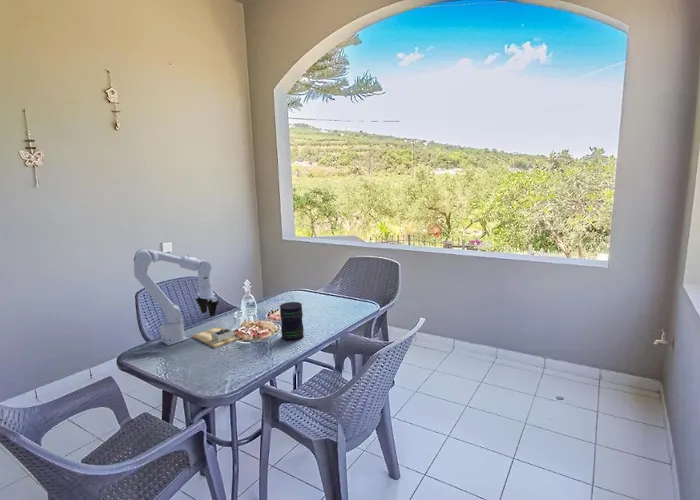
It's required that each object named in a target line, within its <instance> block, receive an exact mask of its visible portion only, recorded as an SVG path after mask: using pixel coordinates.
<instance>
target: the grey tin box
mask: <svg viewBox="0 0 700 500" xmlns="http://www.w3.org/2000/svg"><path fill="white" fill-rule="evenodd" d="M234 333H235V331H234V330H233V329H231V328H228V327H227V328H224V333H223V334H221V332H220V331H217V332H214V333H211V335H212V340H214V341H216V342H218V343H219V342H222V341H225V340H228V339H231V338H234Z"/></svg>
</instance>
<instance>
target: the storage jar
mask: <svg viewBox="0 0 700 500" xmlns="http://www.w3.org/2000/svg"><path fill="white" fill-rule="evenodd" d="M302 305H303V303H301V302H299V301H298V302H297V301H290V302H284V303H281V304H280V305H279V313H280V314H279V315H280V316H279V317H280V319H281V327H280V328H281V329H280V331H281V339H282V340H283V341H285V342H297V341H300V339H301V340H302V339H304V337H305V336H304V331H305V329H304V324H303V306H302Z"/></svg>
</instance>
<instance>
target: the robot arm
mask: <svg viewBox="0 0 700 500" xmlns="http://www.w3.org/2000/svg"><path fill="white" fill-rule="evenodd" d="M159 261H161V262H168V263H172V264H177V265H179V268H182V269H186V270H190V271H194V272H197V276H198V277H197V279H198V289H199V292H196V296H197V298H196V299H195V302H196V303H197V304H198V306H199V309H200V312H201V313H202V314H204V313H207V311H208V313H209V317H214V316H216V311H217V306H218V304H219V302H220V301H219V300H218V298H217V296H215V295H216V293H215V292H213V290H214V289H213V282H212V281H213V280H212V273H211V271H212V265H211V263H210V261H208V260H206V259H205V258H201V257H193V256H191V255H190V254H186V255H182V256H178V255H174V254H170V253H167V252H163V251H160V250H155V249H150V248H149V249H147V248H143V247H141V248H139V249H138V250H137V251H136V252H135V254H134V257H133V275H134V278H135V279H137V281H138V282H139V283H140V285H141V286H142V287H143V288H144V289H145V290H146V291H147V293H148V294H149V295H150V296H151V297H152V299H153V300H154V301H155V302H156V304H157V305H158V306H159V307H160V309H161V310H162V311H163V313H164V314H165V315H166V320H165V322H164V323H163V324H161V325H160V327H159V331H160V338H161V340H160V342H161V343H163V344H165V345H167V346H171V345H174V344H178V343H180V342H183V341H187V340H189V337H187V336H185V328H184V327H185V326H184V318H183V313H182V311H181V309H180V307H179V306H178V305H177V304H175V303H173V302H172V300H170V299H169V298H168V296H167V295H166V294H165V293H164V291H163V290H162V289H161V288H160V287H159V285H158V284H157V283H156V282H155V281H154V279H152V277H151V276H150V275H149V274H148V270H149V266H150V265H151V263H152V262H153V264H155V263H157V262H159Z"/></svg>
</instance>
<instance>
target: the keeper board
mask: <svg viewBox="0 0 700 500" xmlns="http://www.w3.org/2000/svg"><path fill="white" fill-rule="evenodd" d="M224 329H225V328H223V327H221V326H218V327H214V328H211V329H208V330H204V331H202V332H199V333H198V332H197V333H196V334H192V335H191V338H192V339H194V340H196V341H199V342H201V343H203V344H205V345H207V346H209V347H211V348H213V349H217V348H220V347H222V346H225V345H228V344H232V343H233V342H237V341H238V340H237V338H235V337H234V338H231V339H228V340H225V341H222V342H219V343H218V342H216V341H214V340H212V335H211V333H214V332H217V331H220V332H221V334H223V333H224Z"/></svg>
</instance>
